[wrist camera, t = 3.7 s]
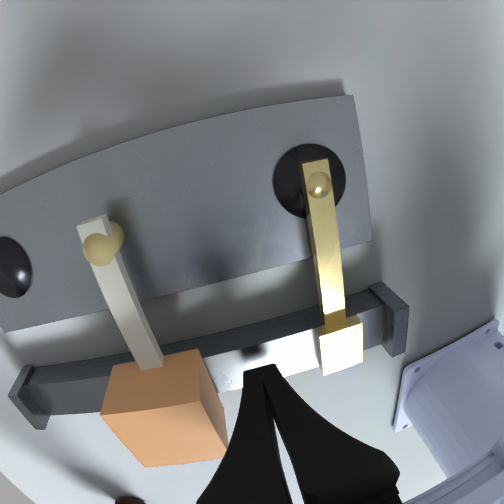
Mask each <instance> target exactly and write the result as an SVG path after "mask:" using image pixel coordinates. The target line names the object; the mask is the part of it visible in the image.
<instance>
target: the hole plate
mask: <svg viewBox="0 0 504 504" xmlns="http://www.w3.org/2000/svg"><path fill="white" fill-rule="evenodd" d="M316 158H327V159H328V163H329V169H330V175H331V182H332V189H333V196H334V203H335V210H336V218H337V226H338V235H339V244H340V249H343V248H347V247H350V246H354V245H358V244H361V243H365V242H368V241H372V234H371V221H370V209H369V199H368V189H367V181H366V172H365V165H364V157H363V150H362V144H361V137H360V131H359V125H358V119H357V114H356V108H355V103H354V98H353V95H344V96H334V97H325V98H317V99H309V100H302V101H295V102H288V103H282V104H276V105H270V106H264V107H259V108H253V109H248V110H243V111H238V112H234V113H229V114H225V115H220V116H216V117H211V118H207V119H203V120H199V121H195V122H191V123H187V124H184V125H180V126H176V127H173V128H169V129H166V130H162V131H159V132H155V133H152V134H149V135H146V136H142V137H139V138H136V139H133V140H130V141H127V142H124V143H121V144H118V145H115V146H112V147H110V148H107V149H104V150H101V151H99V152H96V153H93V154H90V155H88V156H85V157H83V158H80V159H78V160H75V161H73V162H70V163H68V164H65V165H63V166H61V167H58V168H56V169H54V170H51V171H49V172H47V173H44V174H42V175H40V176H38V177H36V178H33V179H31V180H29V181H27V182H25V183H23V184H21V185H19V186H17V187H15V188H13V189H11V190H9V191H7V192H5V193H3V194H1V195H0V326H1V327H2V329H3V331H4V333H6V332H10V331H15V330H20V329H24V328H29V327H33V326H38V325H42V324H47V323H51V322H55V321H60V320H64V319H69V318H73V317H77V316H82V315H86V314H90V313H94V312H99V311H103V310H107V309H109V306H108V304H107V302H106V300H105V298H104V295H103V293H102V291H101V289H100V286H99V284H98V282H97V279H96V277H95V274H94V272H93V270H92V267H91V265H90V262H89V261H88V260H87V259H86V258H85V256H84V253H83V244H82V241H81V238H80V236H79V233H78V230H77V226H78V225H79V224H80V223H81V222H83V221H86V220H89V219H92V218H95V217H98V216H101V215H104V214H107V217H108V220H109V221H113V222H115V223H117V224H118V225H119V226H120V227H121V228H122V230H123V232H124V242H123V245H122V246H121V248H120V249H119V252H120V254H121V257H122V260H123V262H124V265H125V268H126V270H127V273H128V275H129V278H130V281H131V283H132V286H133V288H134V291H135V293H136V295H137V298H138V300H139V302H140V301H144V300H148V299H153V298H157V297H161V296H165V295H169V294H173V293H177V292H181V291H185V290H189V289H193V288H197V287H201V286H204V285H208V284H212V283H216V282H220V281H224V280H228V279H232V278H236V277H239V276H243V275H247V274H251V273H255V272H258V271H262V270H266V269H270V268H274V267H277V266H281V265H285V264H289V263H292V262H296V261H300V260H303V259H307V258H311V257H313V255H312V248H311V241H310V234H309V228H308V222H307V215H306V209H305V203H304V197H303V192H302V189H301V187H300V175H299V169H298V164H297V162H301V161H306V160H311V159H316Z"/></svg>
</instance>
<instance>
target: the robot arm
mask: <svg viewBox="0 0 504 504" xmlns="http://www.w3.org/2000/svg"><path fill="white" fill-rule="evenodd" d="M498 326H499V321H498V320H497V319H494V320H492V321H491V322H489V323H487V324H486V325H484V326H482V327H481V328H479V329H477V330H475V331H474V332H472V333H470V334H468V335H467V336H465V337H463V338H461V339H459V340H457V341H456V342H454V343H452V344H450V345H448V346H446V347H444V348H442V349H440V350H438V351H436V352H434V353H432V354H430V355H428V356H426V357H424V358H422V359H420V360H418V361H416V362H413V363H411V364H409V365H408V366H406V367H405V369H404V370H403V374H402V381H401V387H400V394H399V399H398V405H397V410H396V415H395V420H394V425H393V431H394V432H395V433H397V432H400V431H402V430H404V429H406V428H408V427H410V426H412V425H413V426H414V428H415V429H416V431H417V432H418V434H419V435H420V437H421V438H422V440H423V441H424V443H425V445H426V446H427V448H428V449H429V451H430V452H431V454H432V455H433V457H434V458H435V460H436V462H437V463H438V465H439V466H440V468H441V469H442V471H443V473H444V474H445V476H446V477H447V479H446V480H445V481H443V482H441V483H440V484H438V485H436V486H435V487H433V488H431V489H429V490H427V491H426V492H424V493H422V494H420V495H418V496H416V497H414V498H412V499H410V500H408V501H406V502H404V503H402V501H401V500H400V498H399V496H398V494H399V491H398V489H397V487H396V482H397V480H398V478H399V475H400V471H399V469H398V468H397V466H396V465H395V463H394V462H393V461H392V460H391V459H390V458H389V457H388V456H387V455H386V454H385V453H384V452H383V451H381V450H378V449H376V448H374V447H371V446H369V445H367V444H365V443H363V442H361V441H359V440H357V439H355V438H353V437H351V436H350V435H348V434H346V433H345V432H343V431H341V430H340V429H338V428H337V427H335V426H334V425H332V424H331V423H330V422H328V421H327V420H326V419H324V418H323V417H322V416H320V415H319V414H318V413H317V412H316V411H315V410H313V409H312V408H311V407H310V406H309V405H308V404H307V403H306V402H305V401H304V400H303V399H302V398H301V397H300V396H299V395H298V394H297V393H296V392H295V391H294V389H293V388H292V387H291V386H290V385H289V383H288V382H287V381H286V380H285V378H284V377H283V375H282V374H281V372H280V371H279V369H278V367H277V365H276V364H274V363H272V364H268V365H265V366H261V367H257V368H253V369H249V370H245V371H244V372H243V388H242V397H241V402H240V408H239V413H238V417H237V420H236V424H235V428H234V431H233V434H232V437H231V440H230V443H229V445H228V448H227V450H226V452H225V455H224V457H223V459H222V461H221V463H220V465H219V467H218V469H217V471H216V472H215V474H214V476H213V478H212V480H211V481H210V483H209V484H208V486H207V487H206V489H205V490H204V492H203V493H202V494H201V496H200V497H199V499H198V500H197V502H196V504H293V502H292V499H291V496H290V492H289V489H288V485H287V482H286V479H285V475H284V472H283V468H282V464H281V459H280V454H279V448H278V442H277V436H276V431H275V425H274V421H275V423H276V426H277V428H278V430H279V433H280V435H281V438H282V440H283V443H284V445H285V447H286V450H287V452H288V455H289V457H290V460H291V462H292V465H293V469H294V472H295V475H296V478H297V482H298V485H299V488H300V491H301V494H302V498H303V501H304V504H504V336H503V335H502V334H501V333H500V332H499V331H497V330H498ZM273 418H274V419H273Z"/></svg>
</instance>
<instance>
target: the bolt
mask: <svg viewBox="0 0 504 504" xmlns="http://www.w3.org/2000/svg"><path fill="white" fill-rule="evenodd" d="M115 504H145V503H143V502H142V501H140V500H139V499H136V498H120V499H118V500H116V501H115Z"/></svg>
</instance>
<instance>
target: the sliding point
mask: <svg viewBox="0 0 504 504" xmlns="http://www.w3.org/2000/svg"><path fill="white" fill-rule="evenodd" d="M77 230H78V233H79V236H80V238H81V241H82V244H83V253H84V256H85V258H86V259H87V260H88V261H89V262H90V265H91V267H92V270H93V272H94V274H95V277H96V279H97V282H98V284H99V286H100V289H101V291H102V293H103V295H104V298H105V300H106V302H107V304H108V306H109V309H110V311H111V313H112V315H113V317H114V319H115V321H116V323H117V325H118V327H119V329H120V331H121V333H122V335H123V337H124V339H125V341H126V343H127V345H128V347H129V349H130V351H131V353H132V355H133V357H134V359H135V360H136V361H135V362H130V363H124V364H118V365H113V368H112V371H111V375H110V378H109V382H108V386H107V389H106V393H105V397H104V401H103V405H102V409H101V413H100V416H101V417H102V419H103V420H104V421H105V422H106V424H107V425H108V426H109V427H110V429H111V430H112V431H113V432H114V433H115V435H116V436H117V437H118V438H119V439H120V441H121V442H122V443H123V444H124V445H125V446H126V447H127V449H128V450H129V451H130V452H131V453H132V454H133V455H134V456H135V457H136V459H137V460H138V461H139V462H140V463H141V464H142V465H143V466H144V467H158V466H168V465H178V464H186V463H193V462H200V461H207V460H213V459H219V458H223V457H224V455H225V452H226V450H227V448H228V437H227V430H226V423H225V415H224V408H223V405H222V403H221V401H220V399H219V396H218V394H217V392H216V390H215V387H214V385H213V383H212V380H211V378H210V376H209V373H208V371H207V369H206V366H205V364H204V361H203V359H202V357H201V354H200V352H199V349H193V350H189V351H184V352H180V353H175V354H170V355H166V356H163V354H162V351H161V349H160V347H159V345H158V343H157V341H156V339H155V337H154V334H153V332H152V330H151V328H150V326H149V323H148V321H147V319H146V317H145V314H144V312H143V310H142V307H141V305H140V303H139V300H138V298H137V295H136V293H135V291H134V288H133V286H132V283H131V281H130V278H129V275H128V273H127V270H126V268H125V265H124V262H123V260H122V257H121V254H120V252H119V249H120V248H121V246H122V245H123V242H124V232H123V230H122V228H121V227H120V226H119V225H118V224H117V223H115V222H113V221H109V220H108V217H107V214H104V215H101V216H98V217H95V218H92V219H89V220H86V221H83V222H81V223H80V224H79V225H78V226H77Z"/></svg>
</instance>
